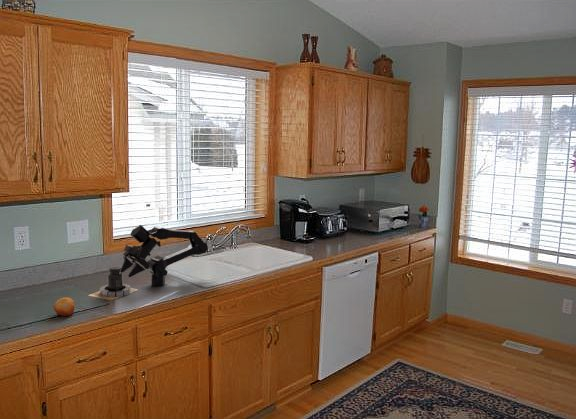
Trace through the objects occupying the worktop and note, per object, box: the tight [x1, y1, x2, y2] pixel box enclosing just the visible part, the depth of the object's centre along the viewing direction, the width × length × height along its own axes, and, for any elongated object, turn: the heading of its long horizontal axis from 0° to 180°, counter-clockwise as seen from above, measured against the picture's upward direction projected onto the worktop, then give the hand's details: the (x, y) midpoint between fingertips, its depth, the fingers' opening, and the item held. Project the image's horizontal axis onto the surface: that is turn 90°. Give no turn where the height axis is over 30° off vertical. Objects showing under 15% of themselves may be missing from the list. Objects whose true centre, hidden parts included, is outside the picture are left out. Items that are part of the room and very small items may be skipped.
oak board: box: [87, 287, 139, 301], centre depth 239 cm, size 18×14×1 cm
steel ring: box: [99, 283, 132, 298], centre depth 238 cm, size 14×14×2 cm
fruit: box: [52, 296, 76, 317], centre depth 211 cm, size 8×8×8 cm
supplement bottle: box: [106, 266, 124, 291], centre depth 238 cm, size 7×7×12 cm
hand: (124, 274), depth 240 cm, fingers open, 9 cm apart
